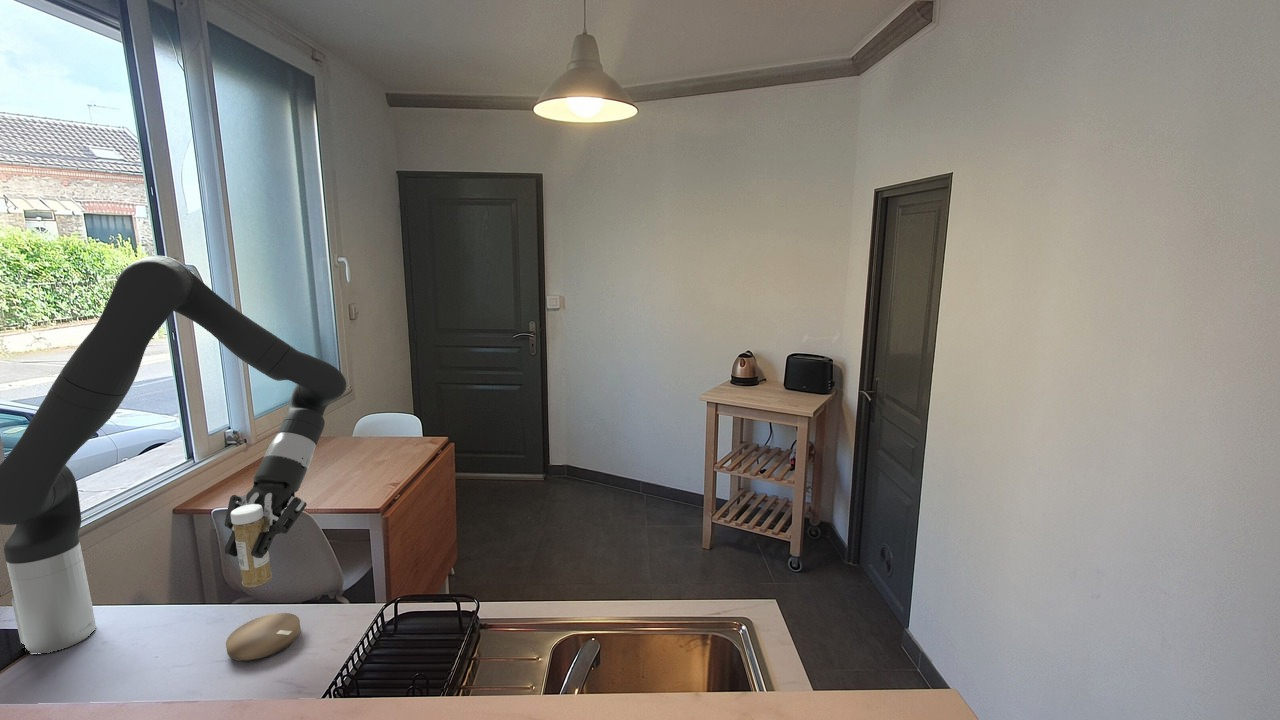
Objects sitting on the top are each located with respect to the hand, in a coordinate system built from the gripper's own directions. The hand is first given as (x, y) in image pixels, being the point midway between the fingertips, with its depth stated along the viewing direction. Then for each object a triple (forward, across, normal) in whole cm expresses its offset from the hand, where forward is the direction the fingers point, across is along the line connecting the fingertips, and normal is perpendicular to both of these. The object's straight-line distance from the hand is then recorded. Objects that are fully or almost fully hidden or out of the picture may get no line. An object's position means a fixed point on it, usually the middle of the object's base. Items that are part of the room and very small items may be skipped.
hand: (243, 555), depth 98 cm
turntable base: (+11, 0, +14) cm, 18 cm away
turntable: (+11, 0, +13) cm, 17 cm away
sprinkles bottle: (+3, 0, +6) cm, 6 cm away
